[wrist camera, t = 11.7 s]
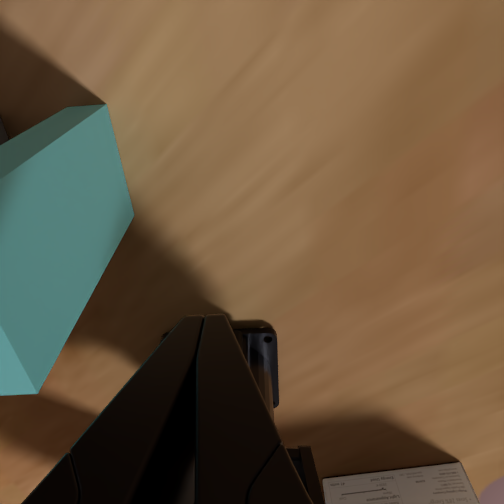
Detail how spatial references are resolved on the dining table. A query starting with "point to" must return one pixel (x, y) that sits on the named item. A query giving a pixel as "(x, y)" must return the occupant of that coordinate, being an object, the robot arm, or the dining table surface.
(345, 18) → the dining table surface
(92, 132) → the teal domino
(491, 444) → the dining table surface
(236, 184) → the dining table surface
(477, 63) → the dining table surface
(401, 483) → the light bulb box
